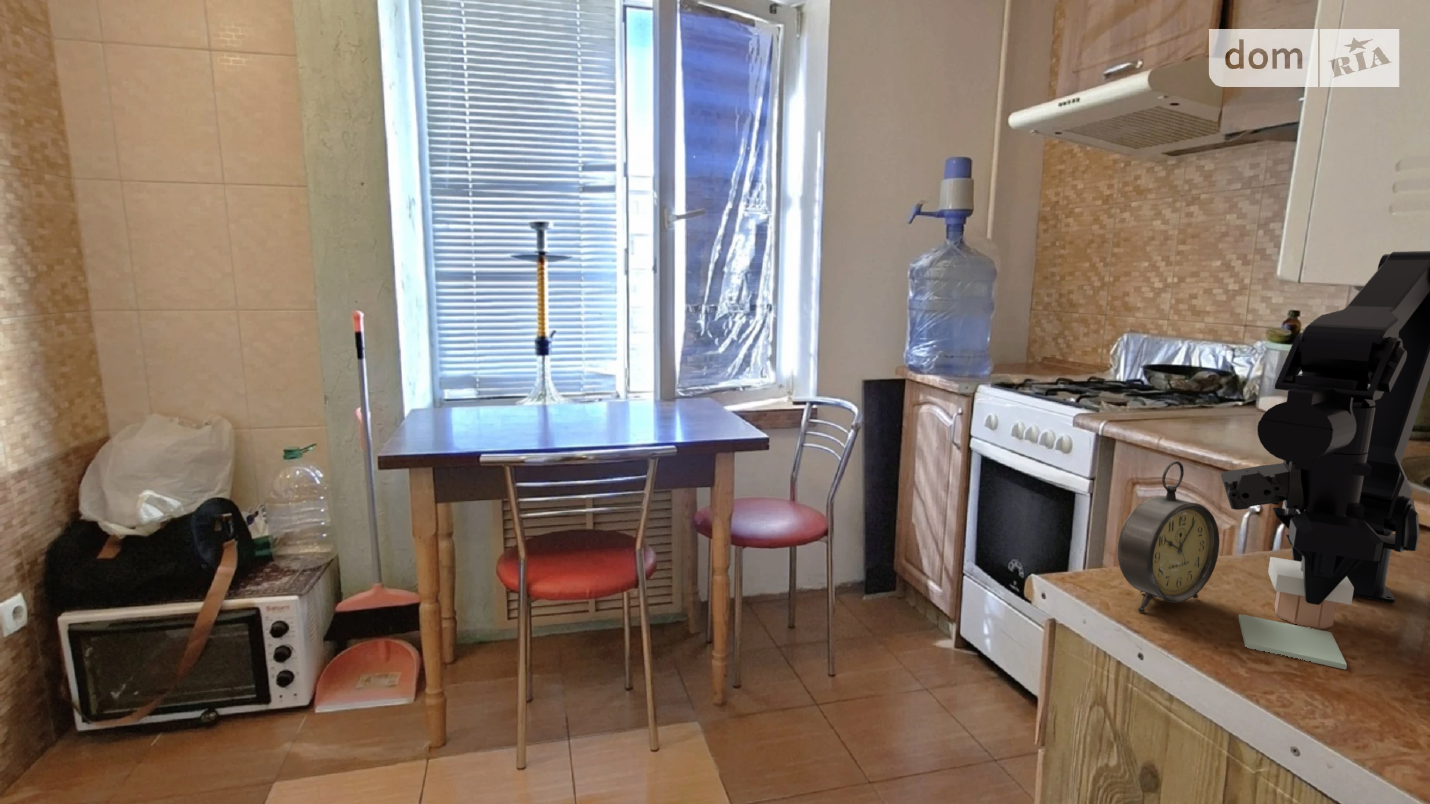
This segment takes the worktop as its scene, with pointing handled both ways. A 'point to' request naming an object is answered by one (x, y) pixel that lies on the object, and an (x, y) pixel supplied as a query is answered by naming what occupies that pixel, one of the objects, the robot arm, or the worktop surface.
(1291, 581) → the cover
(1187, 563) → the alarm clock
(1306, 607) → the bowl
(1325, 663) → the mat
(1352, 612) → the worktop surface
